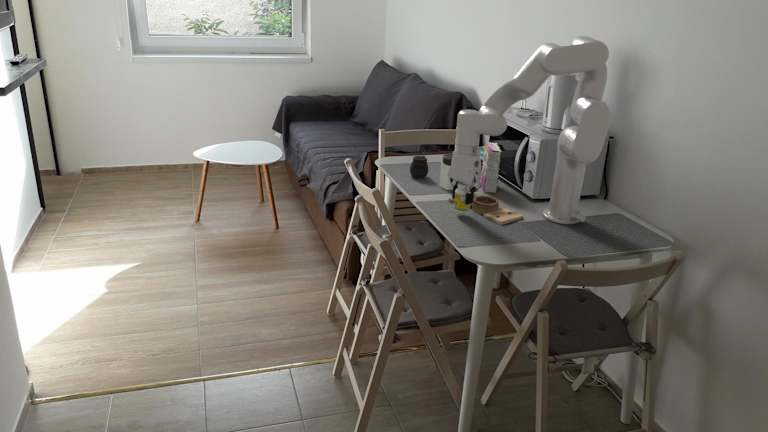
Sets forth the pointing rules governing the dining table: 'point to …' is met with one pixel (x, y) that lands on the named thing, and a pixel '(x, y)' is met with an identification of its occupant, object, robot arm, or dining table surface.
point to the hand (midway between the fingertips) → (462, 200)
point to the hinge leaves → (492, 210)
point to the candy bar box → (490, 167)
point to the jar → (445, 169)
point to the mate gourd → (419, 167)
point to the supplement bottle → (461, 199)
